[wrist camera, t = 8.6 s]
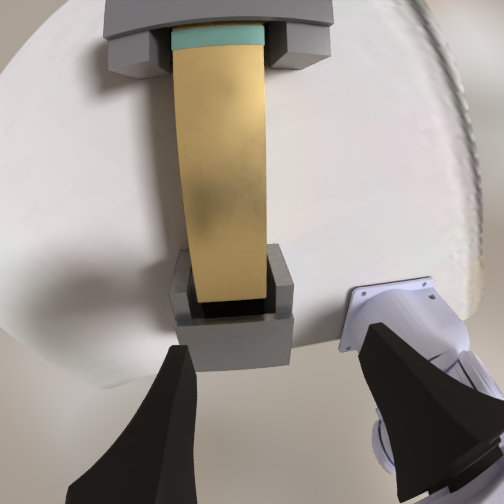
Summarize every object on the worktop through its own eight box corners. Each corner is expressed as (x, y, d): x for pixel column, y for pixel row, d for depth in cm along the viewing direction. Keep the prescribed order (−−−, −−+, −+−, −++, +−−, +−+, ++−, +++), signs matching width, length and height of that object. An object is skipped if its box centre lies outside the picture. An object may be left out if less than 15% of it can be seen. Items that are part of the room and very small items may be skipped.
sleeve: (278, 243, 20) (296, 291, 15) (276, 317, 23) (288, 368, 18) (179, 250, 19) (167, 299, 14) (193, 323, 23) (189, 376, 18)
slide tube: (253, 39, 13) (263, 17, 9) (258, 259, 20) (267, 298, 16) (184, 44, 12) (171, 22, 9) (201, 263, 20) (197, 303, 16)
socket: (299, 15, 12) (330, -17, 7) (302, 69, 14) (335, 54, 9) (138, 24, 11) (106, -4, 7) (138, 79, 13) (102, 68, 8)
